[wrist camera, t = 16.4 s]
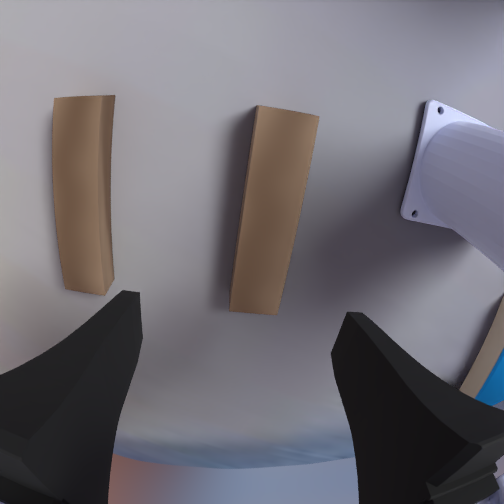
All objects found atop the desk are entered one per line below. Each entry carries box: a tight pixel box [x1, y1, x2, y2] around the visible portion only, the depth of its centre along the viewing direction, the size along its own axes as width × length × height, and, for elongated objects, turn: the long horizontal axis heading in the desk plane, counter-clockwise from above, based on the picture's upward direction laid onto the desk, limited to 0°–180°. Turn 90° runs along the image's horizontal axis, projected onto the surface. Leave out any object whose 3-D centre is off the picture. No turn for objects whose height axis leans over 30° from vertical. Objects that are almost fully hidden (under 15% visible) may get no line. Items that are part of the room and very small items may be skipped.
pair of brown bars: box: [52, 95, 319, 315], centre depth 17 cm, size 14×12×2 cm
